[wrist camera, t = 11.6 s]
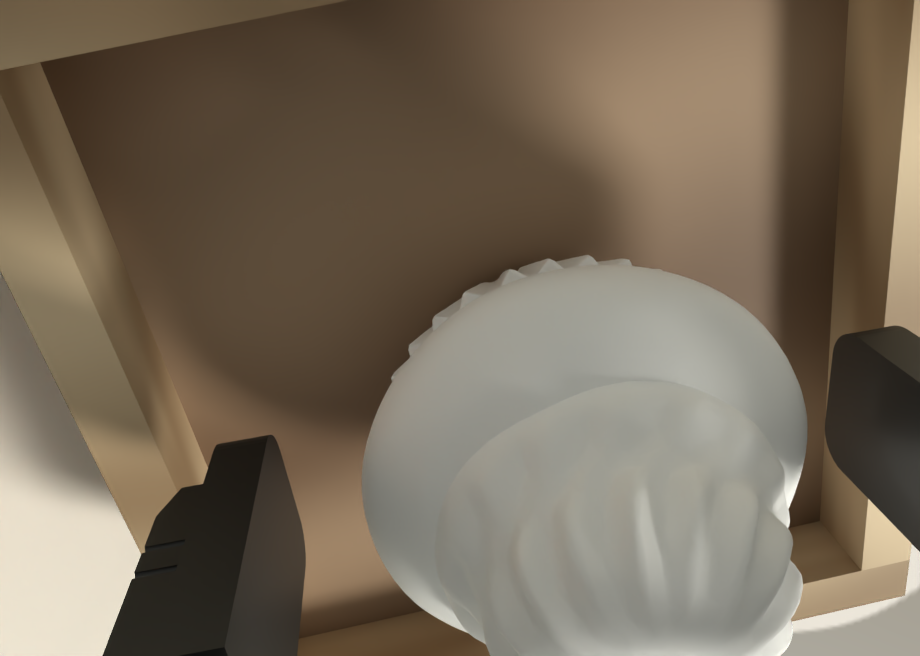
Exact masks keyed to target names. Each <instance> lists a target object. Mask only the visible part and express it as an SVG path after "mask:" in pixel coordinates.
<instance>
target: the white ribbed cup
mask: <svg viewBox="0 0 920 656" xmlns="http://www.w3.org/2000/svg"><path fill="white" fill-rule="evenodd" d="M432 324H433V326H432V327H431V328H429V329H428V330H427V331H425V332H424V333H423V334H422V335H420V336H419V337H418V338H417V339H416V340H414V341H413V342H412V343H411V344H410V345H409V349H408V351H409V354H410V358H409V359H408V360H407V361H406V362H405V363H404V364H403V365H402V366H401V367H400V368H398V369H397V370H396V371H395V372H394V374H393V376H392V377H391V380H392V383H391V385H390V386H389V388H388V390H387V392H386V394H385V396H384V398H383V400H382V402H381V404H380V406H379V409H378V411H377V413H376V416H375V418H374V421H373V424H372V427H371V430H370V433H369V436H368V440H367V444H366V448H365V453H364V458H363V467H362V500H363V506H364V513H365V517H366V521H367V524H368V528H369V532H370V535H371V537H372V540H373V542H374V545H375V548H376V550H377V552H378V554H379V556H380V558H381V560H382V562H383V564H384V565H385V567H386V569H387V570H388V572H389V573H390V575H391V576H392V578H393V579H394V581H395V582H396V583H397V584H398V585H399V587H400V588H401V589H402V590H403V592H404V593H405V594H406V595H408V596H409V597H410V598H411V599H412V600H413V601H414V602H415V603H416V604H417V605H418V606H420V607H421V608H422V609H424V610H425V611H426V612H428V613H430V614H431V615H433V616H434V617H436V618H438V619H440V620H441V621H443V622H445V623H447V624H449V625H451V626H453V627H455V628H457V629H460V630H462V631H464V632H467V633H469V634H470V635H471V636H473V637H474V638H476V639H477V640H479V641H481V642H483V643H484V644H486V646H487V649H488V651H489V654H490V656H780V655H781V654H782V653H783V652H784V651H785V650H786V649H787V647H788V646H789V644H790V642H791V639H792V635H793V624H792V621H791V618H792V617H793V615H794V614H795V611H796V609H797V607H798V605H799V603H800V599H801V594H802V590H803V581H802V575H801V573H800V572H799V570H798V569H797V567H796V566H795V565H794V563H793V562H792V561H791V560H790V557H791V552H792V547H793V539H792V535H791V533H790V530H789V529H788V527H789V524H790V516H789V510H788V509H789V507H790V504H791V502H792V499H793V497H794V494H795V491H796V488H797V485H798V482H799V479H800V476H801V472H802V468H803V464H804V460H805V455H806V447H807V429H808V426H807V414H806V408H805V403H804V399H803V395H802V391H801V388H800V385H799V383H798V380H797V378H796V375H795V373H794V371H793V369H792V367H791V365H790V363H789V361H788V359H787V357H786V355H785V354H784V352H783V351H782V349H781V348H780V346H779V345H778V343H777V342H776V340H775V339H774V338H773V336H772V335H771V334H770V333H769V331H768V330H767V329H766V328H765V327H764V325H763V324H762V323H761V322H760V321H759V320H758V319H757V318H756V317H755V316H753V315H752V314H751V313H750V312H749V311H748V310H746V309H745V308H744V307H743V306H741V305H740V304H739V303H737V302H736V301H734V300H733V299H731V298H729V297H728V296H726V295H725V294H723V293H721V292H719V291H717V290H715V289H713V288H711V287H709V286H707V285H705V284H703V283H700V282H697V281H695V280H692V279H690V278H686V277H683V276H680V275H677V274H673V273H669V272H665V271H663V270H661V269H651V268H644V267H637V266H632V264H631V262H630V260H628V259H615V260H608V261H600V262H596V261H595V259H594V258H593V257H591V256H589V255H584V256H579V257H574V258H570V259H565V260H561V261H557V262H556V261H554V260H551V259H545V260H542V261H538V262H535V263H532V264H529V265H526V266H523V267H520V268H519V270H518V271H516V270H512V269H509V270H506V271H505V272H503V273H502V274H501V275H500V277H499V278H498V279H497V280H496V281H494V282H490V283H489V282H484V283H480V284H479V285H477V286H475V287H473V288H471V289H469V290H467V291H466V292H464V293H463V295H462V298H461V299H459V300H458V301H456V302H455V303H453V304H451V305H450V306H448V307H447V308H446V309H444V310H442V311H441V312H439V313H438V314H436V315H435V316H434V317H433V320H432Z"/></svg>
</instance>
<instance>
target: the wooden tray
mask: <svg viewBox="0 0 920 656" xmlns="http://www.w3.org/2000/svg"><path fill="white" fill-rule="evenodd" d="M584 255H589V256H591V257H593V258H594V259H595V261H596V262H600V261H608V260H615V259H628V260H630V262H631V264H632V266H637V267H644V268H651V269H661V270H663V271H665V272H669V273H673V274H677V275H680V276H683V277H686V278H690V279H692V280H695V281H697V282H700V283H703V284H705V285H707V286H709V287H711V288H713V289H715V290H717V291H719V292H721V293H723V294H725V295H726V296H728V297H729V298H731V299H733V300H734V301H736V302H737V303H739V304H740V305H741V306H743V307H744V308H745V309H746V310H748V311H749V312H750V313H751V314H752V315H753V316H755V317H756V318H757V319H758V320H759V321H760V322H761V323H762V324H763V325H764V327H765V328H766V329H767V330H768V331H769V333H770V334H771V335H772V336H773V338H774V339H775V340H776V342H777V343H778V345H779V346H780V348H781V349H782V351H783V352H784V354H785V355H786V357H787V359H788V361H789V363H790V365H791V367H792V369H793V371H794V373H795V375H796V378H797V380H798V383H799V385H800V388H801V391H802V395H803V399H804V403H805V408H806V414H807V426H808V429H807V447H806V455H805V460H804V464H803V468H802V472H801V476H800V479H799V482H798V485H797V488H796V491H795V494H794V497H793V499H792V502H791V504H790V507H789V509H788V510H789V516H790V524H789V527H788V529H789V530H790V533H791V535H792V539H793V547H792V552H791V557H790V560H791V561H792V562H793V563H794V565H795V566H796V567H797V569H798V570H799V572H800V573H801V575H802V581H803V590H802V594H801V599H800V603H799V605H798V607H797V609H796V611H795V614H794V615H793V617H792V618H791V621H796V620H800V619H805V618H809V617H813V616H818V615H822V614H826V613H831V612H835V611H839V610H844V609H848V608H853V607H857V606H861V605H866V604H870V603H874V602H879V601H883V600H887V599H892V598H896V597H900V596H905V590H906V583H907V575H908V567H909V560H910V552H911V544H912V543H911V542H910V541H909V540H908V539H907V538H906V537H905V536H904V535H903V534H902V533H901V532H900V531H899V530H898V529H897V528H896V527H895V526H894V525H893V524H892V523H891V522H890V521H889V520H888V518H887V517H886V516H885V515H884V514H883V513H882V512H881V511H880V510H879V509H878V508H877V507H876V506H875V505H874V504H873V503H872V502H871V501H870V500H869V499H868V498H867V497H866V496H865V495H864V494H863V493H862V492H861V491H860V490H859V489H858V488H857V487H856V486H855V484H854V483H853V482H852V481H851V480H850V479H849V478H848V477H847V476H846V475H845V474H844V473H843V472H842V471H841V470H840V469H839V468H838V466H837V465H836V463H835V462H834V460H833V458H832V456H831V454H830V452H829V449H828V446H827V442H826V437H825V419H826V410H827V401H828V392H829V382H830V373H831V364H832V355H833V349H834V345H835V343H836V341H837V339H838V338H839V337H840V336H842V335H845V334H849V333H855V332H860V331H866V330H872V329H877V328H883V327H889V326H902V327H904V328H906V329H908V330H909V331H911V332H912V333H914V334H915V335H917V336H918V337H920V0H0V271H1V273H2V275H3V277H4V279H5V281H6V283H7V285H8V287H9V289H10V291H11V293H12V295H13V297H14V299H15V301H16V303H17V305H18V307H19V309H20V311H21V313H22V315H23V317H24V319H25V321H26V323H27V325H28V327H29V329H30V331H31V333H32V335H33V337H34V339H35V341H36V343H37V346H38V348H39V350H40V352H41V354H42V356H43V358H44V360H45V362H46V364H47V366H48V368H49V370H50V372H51V374H52V376H53V378H54V380H55V382H56V384H57V386H58V388H59V390H60V392H61V394H62V396H63V398H64V400H65V402H66V404H67V406H68V408H69V410H70V412H71V414H72V416H73V418H74V420H75V422H76V424H77V426H78V428H79V430H80V432H81V434H82V436H83V438H84V440H85V442H86V444H87V446H88V448H89V450H90V452H91V454H92V456H93V458H94V460H95V462H96V464H97V466H98V468H99V470H100V472H101V474H102V476H103V478H104V480H105V482H106V484H107V486H108V488H109V490H110V492H111V494H112V496H113V498H114V500H115V502H116V504H117V506H118V508H119V510H120V512H121V514H122V516H123V518H124V520H125V522H126V524H127V526H128V528H129V530H130V532H131V534H132V536H133V538H134V540H135V542H136V544H137V546H138V548H139V550H140V552H141V554H142V553H145V547H144V546H145V544H146V541H147V539H148V536H149V533H150V531H151V528H152V525H153V523H154V520H155V518H156V516H157V515H158V514H159V512H160V511H161V510H162V509H163V508H164V507H165V506H166V505H167V503H168V502H169V501H170V500H171V499H172V498H173V497H174V496H175V495H176V493H177V492H178V491H179V490H180V489H181V488H183V487H188V486H194V485H200V484H203V482H204V479H205V476H206V473H207V470H208V466H209V463H210V460H211V457H212V454H213V451H214V448H215V446H216V445H217V444H220V443H226V442H232V441H237V440H243V439H249V438H254V437H260V436H266V435H273V436H274V437H275V439H276V441H277V443H278V445H279V448H280V452H281V455H282V458H283V462H284V465H285V469H286V472H287V475H288V479H289V482H290V486H291V489H292V492H293V496H294V499H295V503H296V506H297V509H298V513H299V516H300V520H301V524H302V528H303V534H304V541H305V551H306V569H305V579H304V590H303V600H302V611H301V621H300V631H299V642H298V652H297V656H490V654H489V651H488V649H487V646H486V644H484V643H483V642H481V641H479V640H477V639H476V638H474V637H473V636H471V635H470V634H469V633H467V632H464V631H462V630H460V629H457V628H455V627H453V626H451V625H449V624H447V623H445V622H443V621H441V620H440V619H438V618H436V617H434V616H433V615H431V614H430V613H428V612H426V611H425V610H424V609H422V608H421V607H420V606H418V605H417V604H416V603H415V602H414V601H413V600H412V599H411V598H410V597H409V596H408V595H406V594H405V593H404V592H403V590H402V589H401V588H400V587H399V585H398V584H397V583H396V582H395V581H394V579H393V578H392V576H391V575H390V573H389V572H388V570H387V569H386V567H385V565H384V564H383V562H382V560H381V558H380V556H379V554H378V552H377V550H376V548H375V545H374V542H373V540H372V537H371V535H370V532H369V528H368V524H367V521H366V517H365V513H364V506H363V500H362V467H363V458H364V453H365V448H366V444H367V440H368V436H369V433H370V430H371V427H372V424H373V421H374V418H375V416H376V413H377V411H378V409H379V406H380V404H381V402H382V400H383V398H384V396H385V394H386V392H387V390H388V388H389V386H390V385H391V383H392V380H391V377H392V376H393V374H394V372H395V371H396V370H397V369H398V368H400V367H401V366H402V365H403V364H404V363H405V362H406V361H407V360H408V359H409V358H410V354H409V351H408V349H409V345H410V344H411V343H412V342H413V341H414V340H416V339H417V338H418V337H419V336H420V335H422V334H423V333H424V332H425V331H427V330H428V329H429V328H431V327H432V326H433V324H432V320H433V317H434V316H435V315H436V314H438V313H439V312H441V311H442V310H444V309H446V308H447V307H448V306H450V305H451V304H453V303H455V302H456V301H458V300H459V299H461V298H462V295H463V293H464V292H466V291H467V290H469V289H471V288H473V287H475V286H477V285H479V284H480V283H484V282H489V283H490V282H494V281H496V280H497V279H498V278H499V277H500V275H501V274H502V273H503V272H505V271H506V270H509V269H512V270H516V271H518V270H519V268H520V267H523V266H526V265H529V264H532V263H535V262H538V261H542V260H545V259H551V260H554V261H556V262H557V261H561V260H565V259H570V258H574V257H579V256H584Z"/></svg>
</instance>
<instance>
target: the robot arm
mask: <svg viewBox="0 0 920 656" xmlns="http://www.w3.org/2000/svg"><path fill="white" fill-rule="evenodd" d="M825 437H826V442H827V446H828V449H829V452H830V454H831V456H832V458H833V460H834V462H835V463H836V465H837V466H838V468H839V469H840V470H841V471H842V472H843V473H844V474H845V475H846V476H847V477H848V478H849V479H850V480H851V481H852V482H853V483H854V484H855V486H856V487H857V488H858V489H859V490H860V491H861V492H862V493H863V494H864V495H865V496H866V497H867V498H868V499H869V500H870V501H871V502H872V503H873V504H874V505H875V506H876V507H877V508H878V509H879V510H880V511H881V512H882V513H883V514H884V515H885V516H886V517H887V518H888V520H889V521H890V522H891V523H892V524H893V525H894V526H895V527H896V528H897V529H898V530H899V531H900V532H901V533H902V534H903V535H904V536H905V537H906V538H907V539H908V540H909V541H910V542H911V543H912V544H913V545H914V546H915V547H916V548H917V549H918V550H919V551H920V337H918V336H917V335H915V334H914V333H912V332H911V331H909V330H908V329H906V328H904V327H902V326H889V327H883V328H877V329H872V330H866V331H860V332H855V333H849V334H845V335H842V336H840V337H839V338H838V339H837V341H836V343H835V345H834V349H833V355H832V364H831V373H830V382H829V392H828V401H827V410H826V419H825ZM144 547H145V553H142V554H141V557H140V559H139V562H138V565H137V567H136V570H135V579H132V580H131V583H130V586H129V588H128V591H127V593H126V596H125V599H124V601H123V604H122V606H121V609H120V612H119V614H118V617H117V620H116V622H115V625H114V627H113V630H112V633H111V635H110V638H109V640H108V643H107V646H106V648H105V651H104V654H103V656H297V652H298V642H299V631H300V621H301V611H302V600H303V590H304V579H305V569H306V551H305V541H304V534H303V528H302V524H301V520H300V516H299V513H298V509H297V506H296V503H295V499H294V496H293V492H292V489H291V486H290V482H289V479H288V475H287V472H286V469H285V465H284V462H283V458H282V455H281V452H280V448H279V445H278V443H277V441H276V439H275V437H274V436H273V435H266V436H260V437H254V438H249V439H243V440H237V441H232V442H226V443H220V444H217V445H216V446H215V448H214V451H213V454H212V457H211V460H210V463H209V466H208V470H207V473H206V476H205V479H204V482H203V484H200V485H194V486H188V487H183V488H181V489H180V490H179V491H178V492H177V493H176V495H175V496H174V497H173V498H172V499H171V500H170V501H169V502H168V503H167V505H166V506H165V507H164V508H163V509H162V510H161V511H160V512H159V514H158V515H157V516H156V518H155V520H154V523H153V525H152V528H151V531H150V533H149V536H148V539H147V541H146V544H145V546H144Z"/></svg>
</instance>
